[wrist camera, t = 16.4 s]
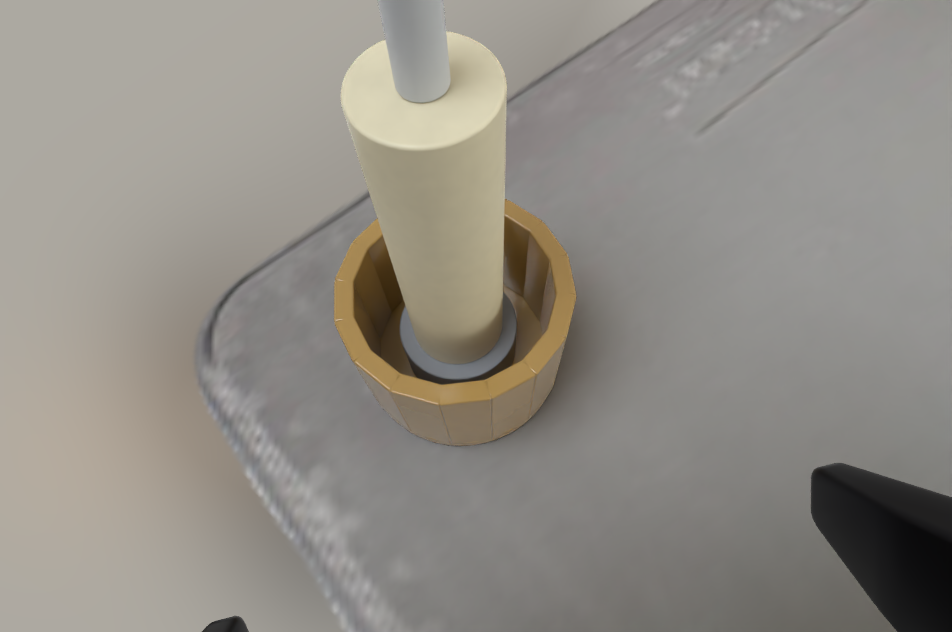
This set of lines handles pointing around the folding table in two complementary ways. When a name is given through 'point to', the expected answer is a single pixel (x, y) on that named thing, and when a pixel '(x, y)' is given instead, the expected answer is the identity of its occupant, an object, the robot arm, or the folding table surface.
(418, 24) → the kitchen roll stand
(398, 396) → the holder
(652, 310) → the folding table surface
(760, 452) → the folding table surface
